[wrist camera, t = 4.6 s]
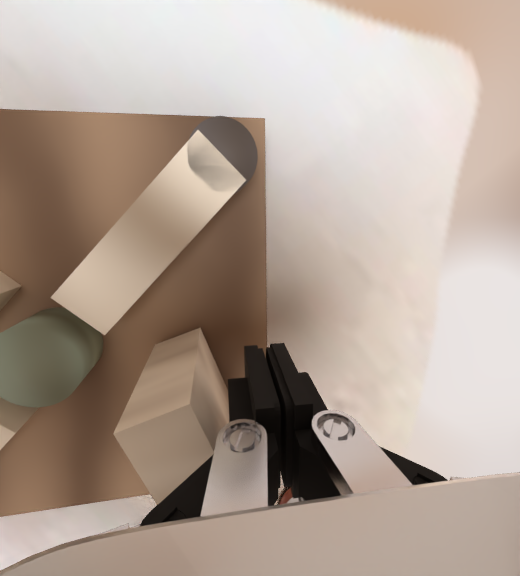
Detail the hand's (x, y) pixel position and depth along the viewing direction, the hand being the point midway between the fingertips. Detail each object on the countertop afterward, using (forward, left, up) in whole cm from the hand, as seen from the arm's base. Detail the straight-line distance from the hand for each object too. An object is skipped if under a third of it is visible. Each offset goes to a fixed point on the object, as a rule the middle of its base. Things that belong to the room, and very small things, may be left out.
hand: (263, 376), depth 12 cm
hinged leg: (-2, -4, -3) cm, 6 cm away
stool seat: (-9, +1, -6) cm, 11 cm away
